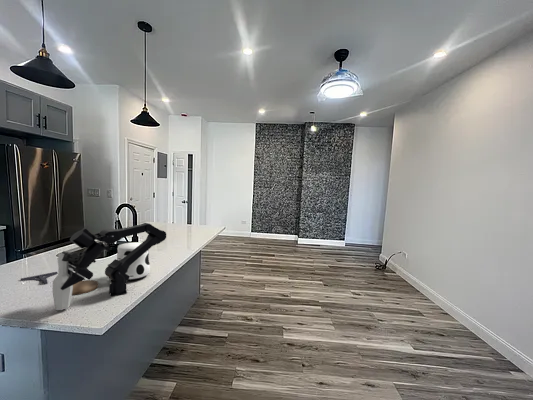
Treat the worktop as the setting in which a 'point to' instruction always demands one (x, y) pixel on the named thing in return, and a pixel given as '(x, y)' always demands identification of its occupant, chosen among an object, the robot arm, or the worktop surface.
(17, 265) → the worktop surface
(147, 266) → the milk container
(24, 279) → the bracket
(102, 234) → the robot arm
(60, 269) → the low poly bottle
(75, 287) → the walnut board
